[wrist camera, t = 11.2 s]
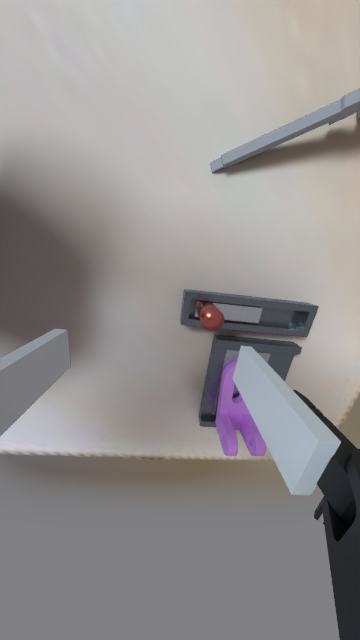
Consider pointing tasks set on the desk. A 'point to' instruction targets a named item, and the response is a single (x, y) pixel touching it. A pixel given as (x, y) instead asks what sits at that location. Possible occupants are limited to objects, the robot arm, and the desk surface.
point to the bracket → (235, 419)
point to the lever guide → (272, 320)
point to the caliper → (292, 130)
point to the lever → (224, 313)
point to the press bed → (228, 352)
